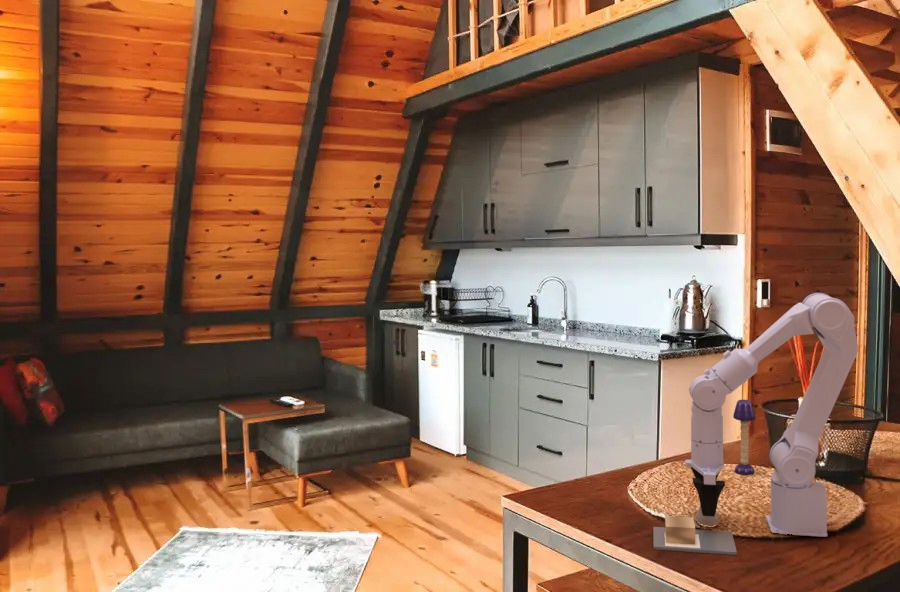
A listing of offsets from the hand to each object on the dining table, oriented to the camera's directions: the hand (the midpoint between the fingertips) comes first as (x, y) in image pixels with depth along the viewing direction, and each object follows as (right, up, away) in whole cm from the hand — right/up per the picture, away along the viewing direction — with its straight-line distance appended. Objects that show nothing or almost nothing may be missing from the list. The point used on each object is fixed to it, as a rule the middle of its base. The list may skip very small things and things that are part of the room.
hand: (707, 508), depth 149 cm
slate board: (-5, -4, -8) cm, 10 cm away
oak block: (-7, -3, -7) cm, 11 cm away
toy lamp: (+18, 0, +28) cm, 33 cm away
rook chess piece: (0, -3, 0) cm, 3 cm away
